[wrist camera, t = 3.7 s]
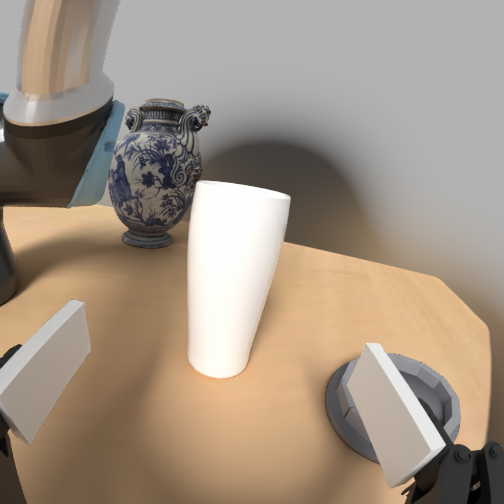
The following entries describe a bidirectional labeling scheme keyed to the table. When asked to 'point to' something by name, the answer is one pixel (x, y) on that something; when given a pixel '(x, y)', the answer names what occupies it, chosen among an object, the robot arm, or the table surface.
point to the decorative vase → (156, 170)
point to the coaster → (420, 382)
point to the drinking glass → (230, 271)
